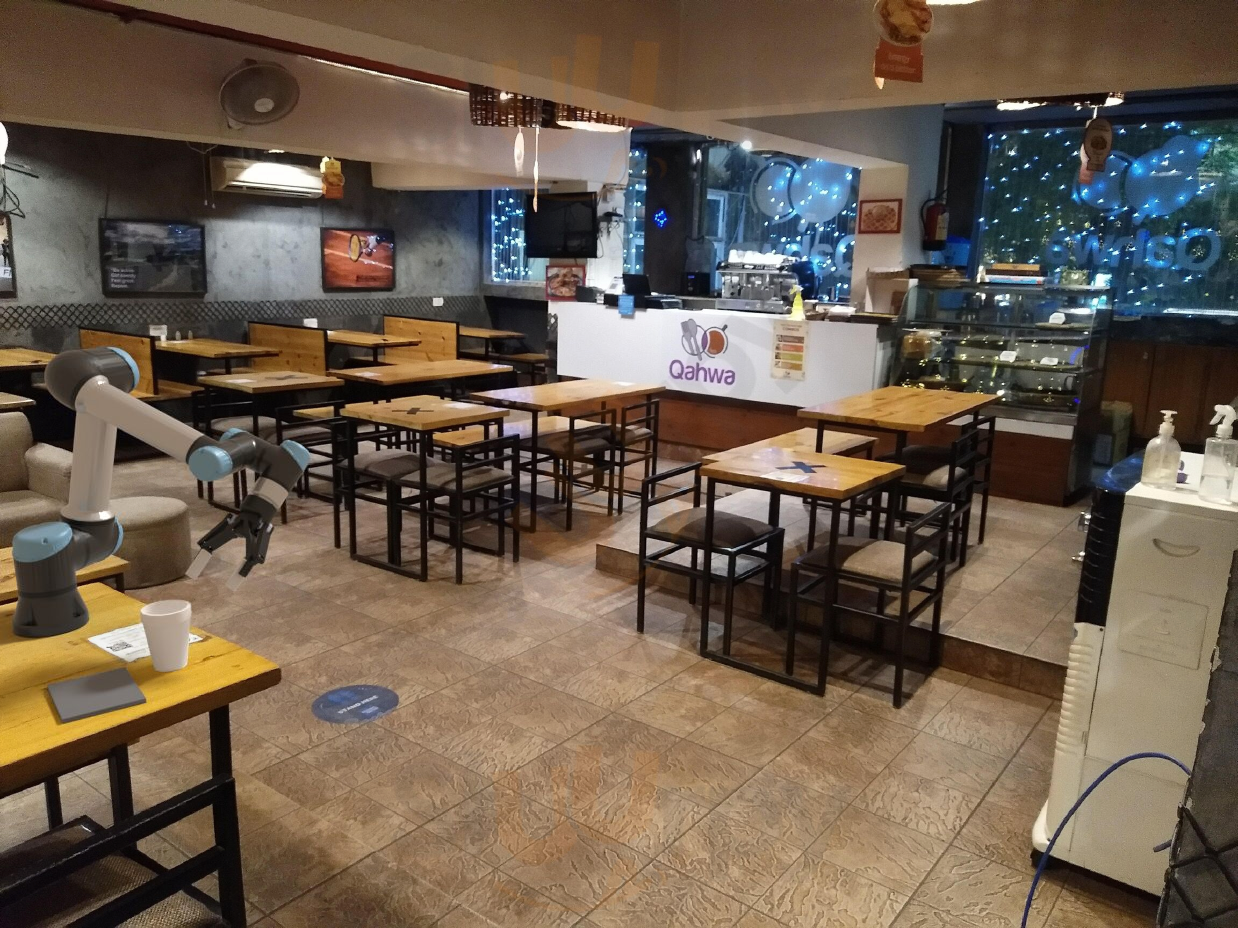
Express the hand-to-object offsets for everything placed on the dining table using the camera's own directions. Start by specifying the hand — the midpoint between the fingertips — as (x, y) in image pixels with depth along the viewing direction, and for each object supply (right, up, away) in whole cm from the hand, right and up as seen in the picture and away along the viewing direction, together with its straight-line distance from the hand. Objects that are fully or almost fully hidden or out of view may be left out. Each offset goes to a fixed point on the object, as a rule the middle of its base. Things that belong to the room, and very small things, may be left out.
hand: (209, 582), depth 196 cm
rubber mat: (-13, -20, -20) cm, 31 cm away
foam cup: (-6, -17, -6) cm, 19 cm away
